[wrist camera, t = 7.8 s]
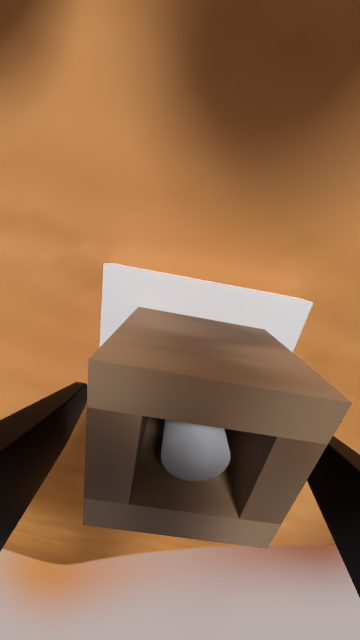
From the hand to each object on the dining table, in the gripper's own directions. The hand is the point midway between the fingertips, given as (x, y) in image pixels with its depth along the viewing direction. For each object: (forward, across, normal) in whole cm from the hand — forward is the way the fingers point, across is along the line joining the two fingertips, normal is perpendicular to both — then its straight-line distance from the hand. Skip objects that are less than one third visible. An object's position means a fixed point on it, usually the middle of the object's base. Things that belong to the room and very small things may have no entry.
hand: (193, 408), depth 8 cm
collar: (+2, 0, 0) cm, 3 cm away
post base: (+4, 0, 0) cm, 4 cm away
